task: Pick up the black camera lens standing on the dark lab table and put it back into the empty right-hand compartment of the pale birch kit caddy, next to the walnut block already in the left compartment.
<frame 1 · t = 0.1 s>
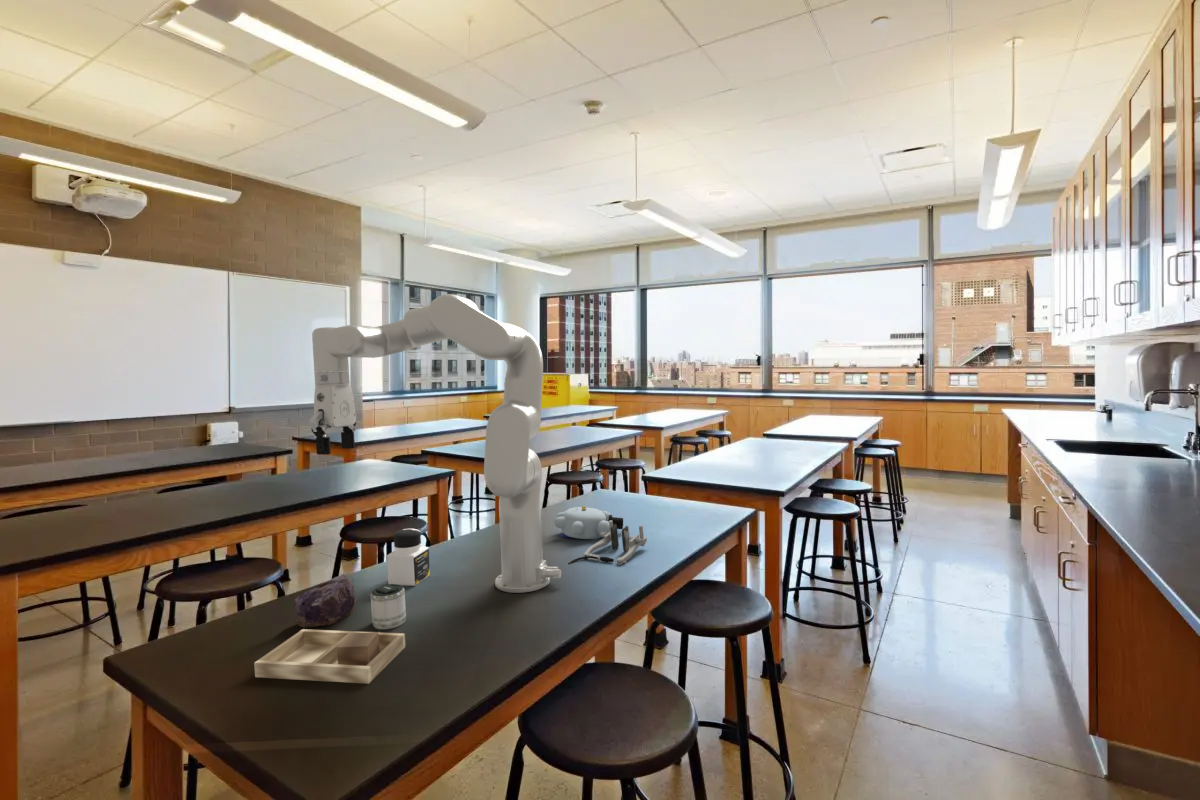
hand: (336, 451, 139), 31 cm above the table, tool pointing down, fingers open, 9 cm apart
caddy: (333, 665, 99), on the table
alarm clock: (589, 535, 171), on the table
bike brake: (611, 558, 151), on the table
walnut block: (359, 662, 98), point 1 cm above the table, touching caddy
camera lens: (389, 627, 114), on the table
medicine bottle: (409, 580, 138), on the table
rock: (331, 623, 117), on the table
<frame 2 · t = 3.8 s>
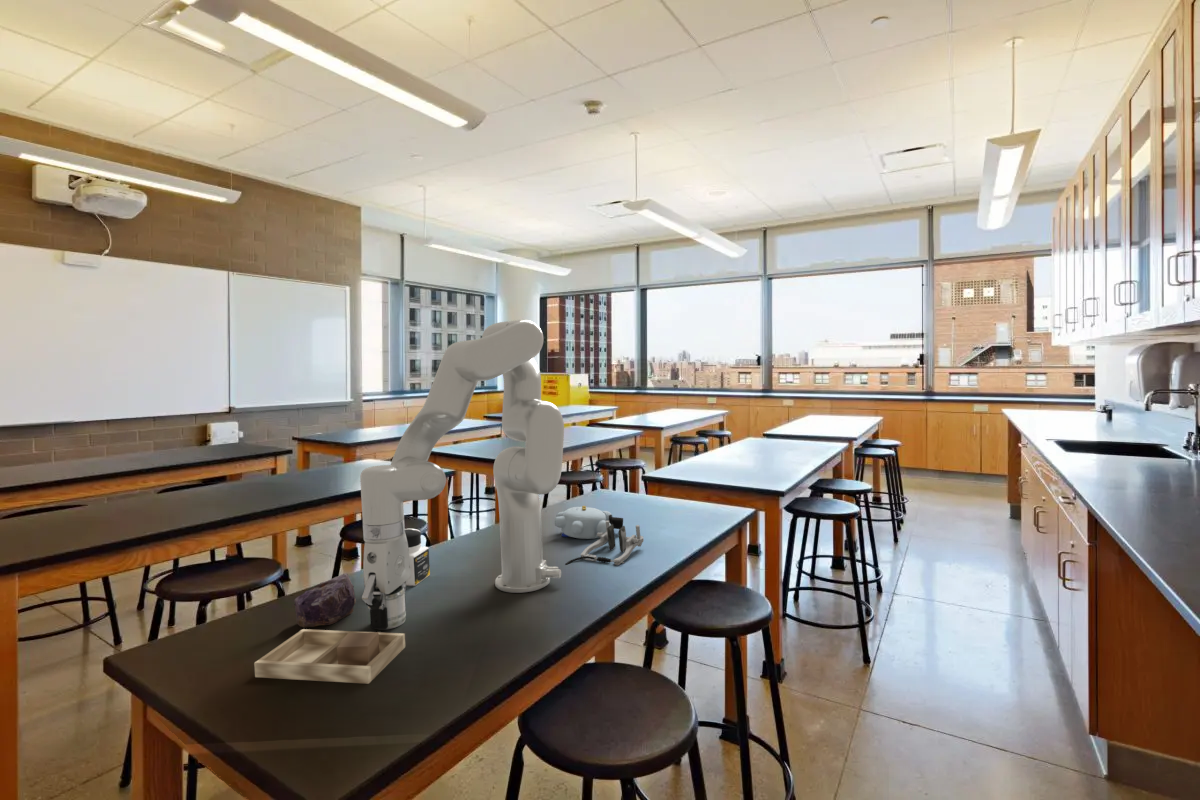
hand: (389, 619, 113), 1 cm above the table, tool pointing down, fingers closed on camera lens, 6 cm apart
camera lens: (389, 627, 113), on the table, touching gripper
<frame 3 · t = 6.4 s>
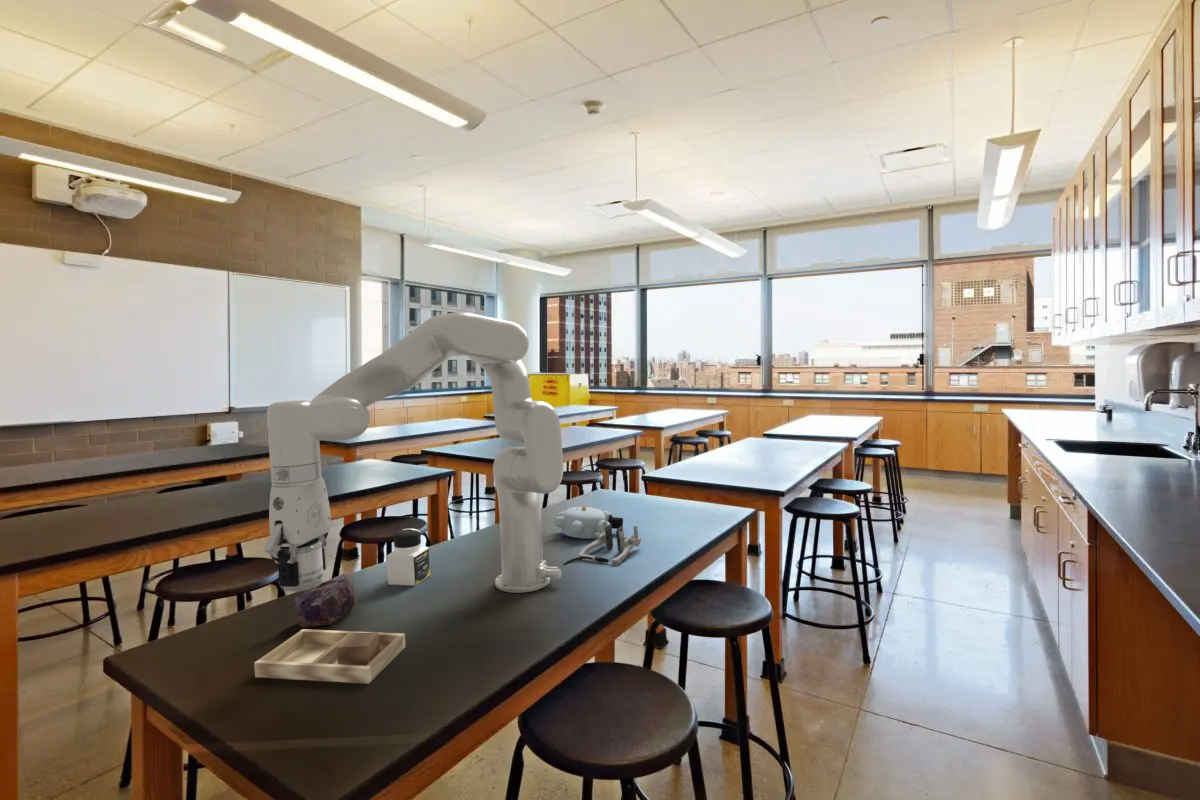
hand: (303, 577, 99), 15 cm above the table, tool pointing down, fingers closed on camera lens, 6 cm apart
camera lens: (303, 586, 99), point 14 cm above the table, touching gripper
when the fingers open (3 cm above the table, at t = 9.0 s): camera lens drops 1 cm, resting on caddy.
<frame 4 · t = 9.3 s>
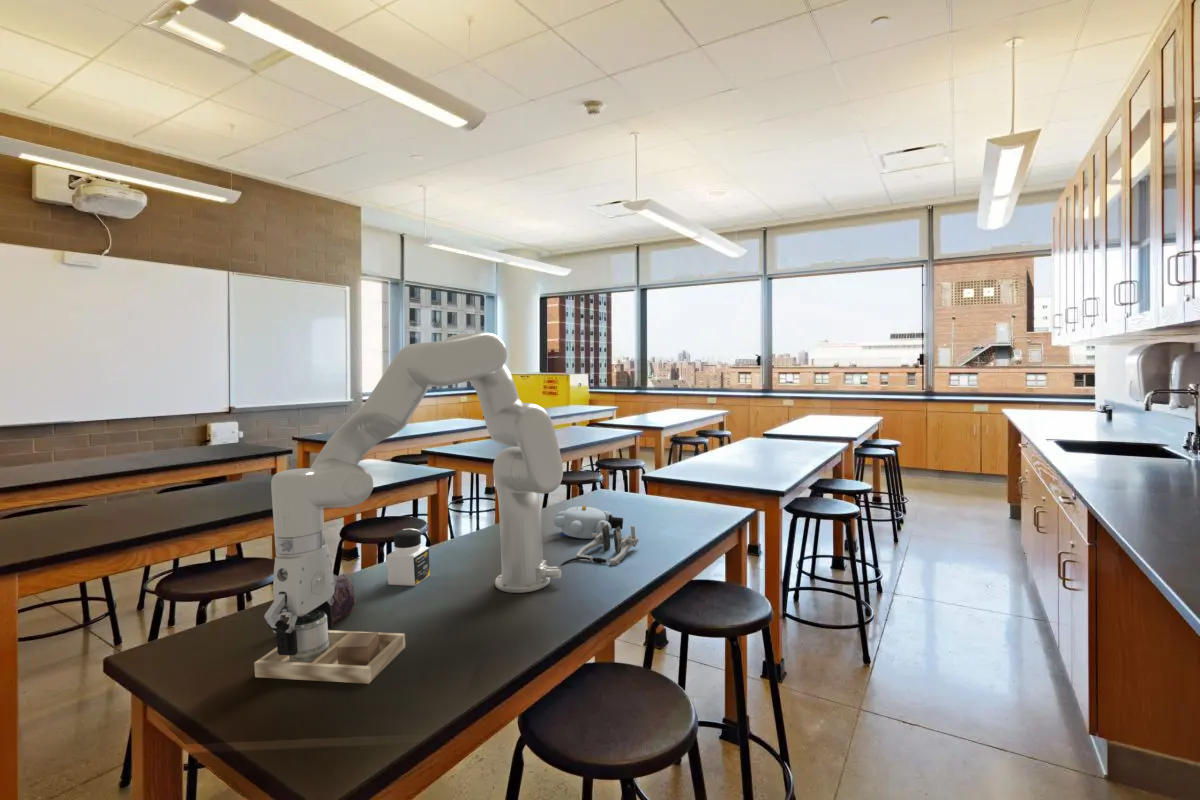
hand: (306, 640, 100), 4 cm above the table, tool pointing down, fingers open, 9 cm apart
camera lens: (309, 660, 100), point 1 cm above the table, touching caddy
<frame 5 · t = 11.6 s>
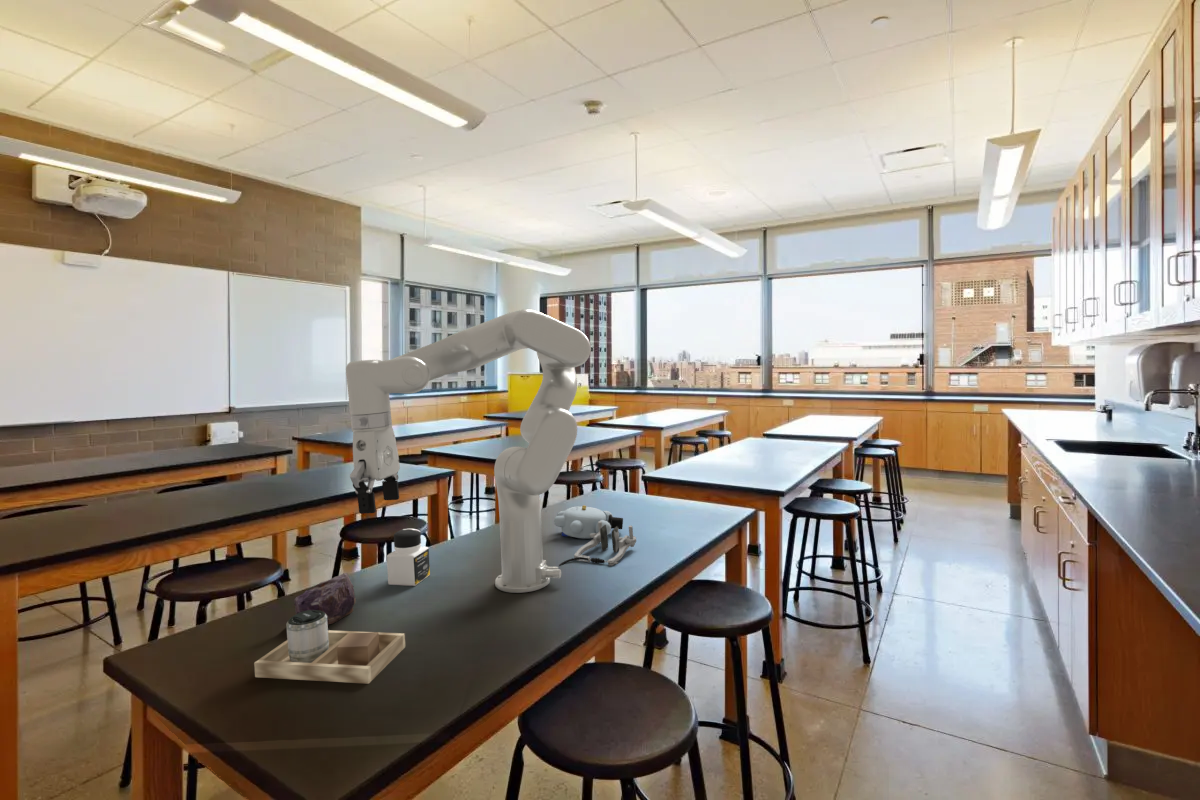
hand: (380, 506, 117), 23 cm above the table, tool pointing down, fingers open, 9 cm apart
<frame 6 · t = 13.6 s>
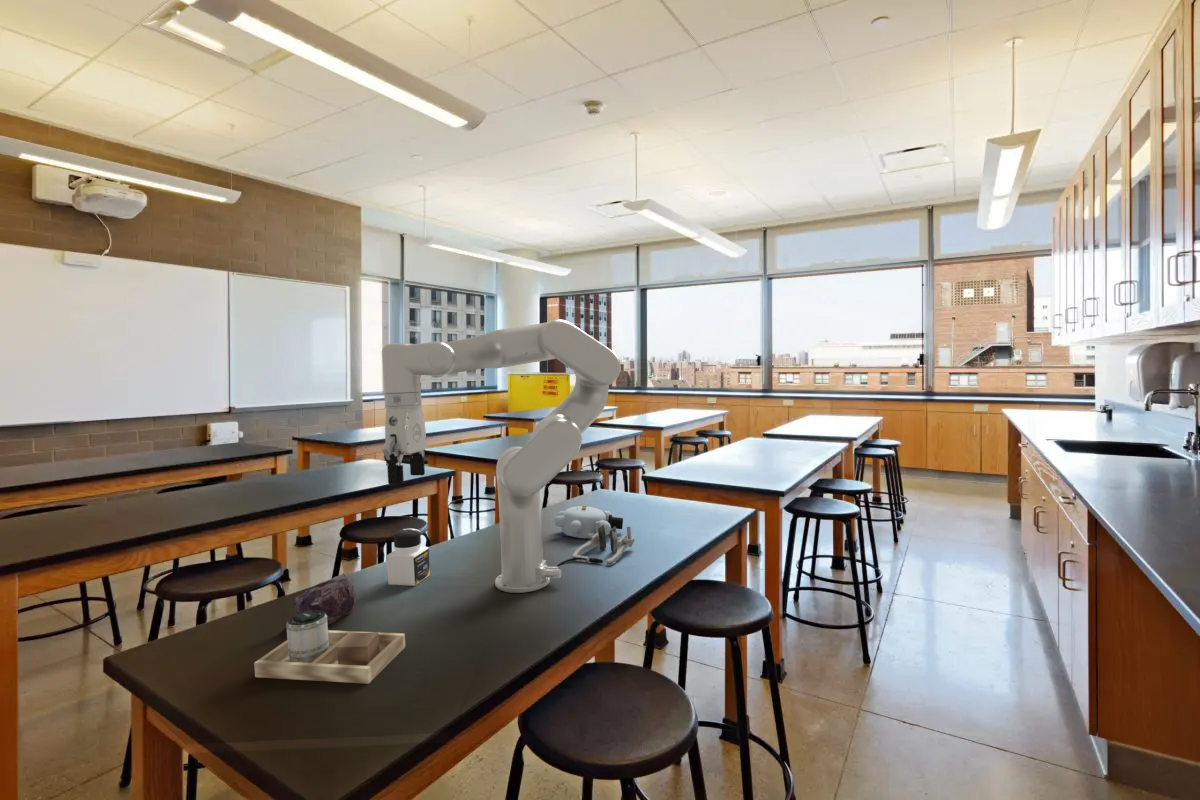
hand: (407, 479, 126), 26 cm above the table, tool pointing down, fingers open, 9 cm apart
at the end: camera lens inside the target area on the caddy (0.3 cm from its centre), point 0.6 cm above the caddy's base; camera lens tilted 0°; the gripper is holding nothing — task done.
